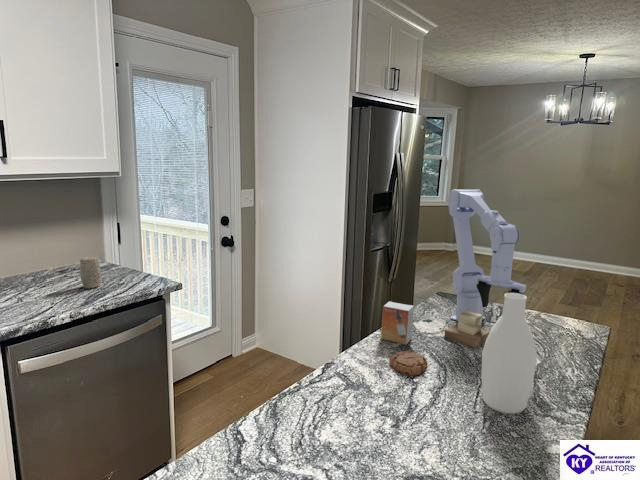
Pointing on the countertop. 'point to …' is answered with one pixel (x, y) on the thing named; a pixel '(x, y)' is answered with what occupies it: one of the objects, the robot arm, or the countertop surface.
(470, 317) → the maple cube
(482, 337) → the walnut block
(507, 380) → the bottle
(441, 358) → the countertop surface
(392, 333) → the small box
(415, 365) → the cookie
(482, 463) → the countertop surface
